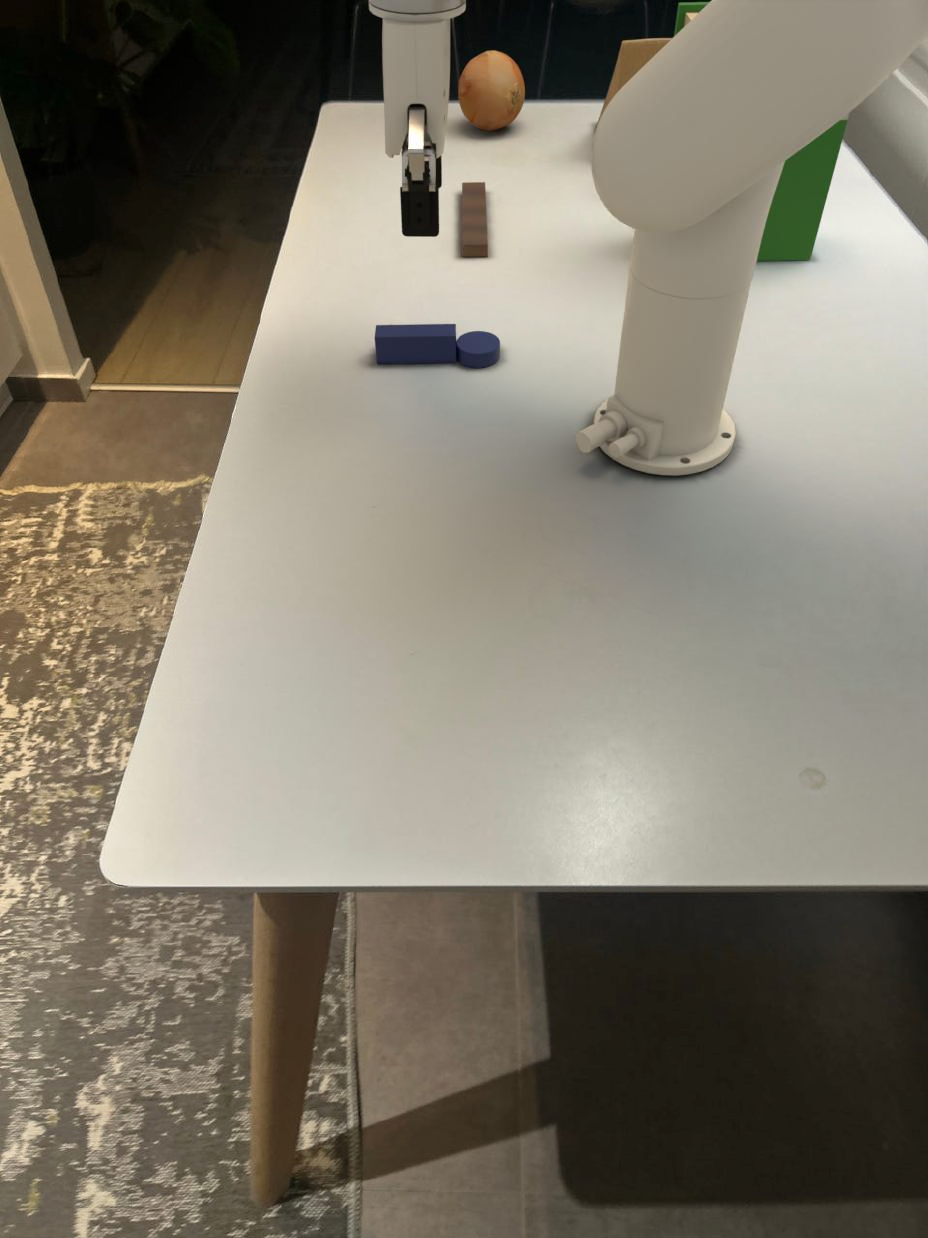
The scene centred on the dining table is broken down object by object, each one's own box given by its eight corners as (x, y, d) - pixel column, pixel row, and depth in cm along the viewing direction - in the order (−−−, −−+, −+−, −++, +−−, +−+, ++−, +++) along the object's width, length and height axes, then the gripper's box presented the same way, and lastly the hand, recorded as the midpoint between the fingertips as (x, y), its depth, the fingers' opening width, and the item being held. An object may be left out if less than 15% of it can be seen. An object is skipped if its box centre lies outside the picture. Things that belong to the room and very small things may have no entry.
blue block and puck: (376, 369, 92) (373, 342, 90) (379, 346, 95) (376, 319, 93) (500, 367, 92) (500, 340, 90) (499, 344, 95) (499, 317, 93)
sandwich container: (652, 122, 137) (667, 4, 126) (672, 162, 127) (689, 37, 116) (595, 124, 137) (604, 6, 126) (609, 164, 126) (621, 39, 115)
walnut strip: (487, 256, 108) (487, 244, 107) (462, 257, 108) (462, 244, 107) (485, 193, 121) (485, 181, 119) (462, 193, 121) (462, 182, 119)
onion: (502, 145, 132) (504, 66, 125) (445, 132, 136) (443, 55, 128) (536, 124, 137) (539, 47, 130) (480, 112, 141) (480, 37, 134)
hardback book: (657, 263, 106) (692, 23, 89) (647, 234, 111) (678, 2, 94) (810, 259, 106) (874, 18, 89) (793, 231, 111) (851, -2, 94)
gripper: (375, -44, 76) (387, 170, 89) (358, 19, 65) (374, 255, 77) (466, -43, 76) (464, 171, 89) (465, 20, 65) (463, 256, 77)
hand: (422, 210), depth 83 cm, fingers open, 9 cm apart
